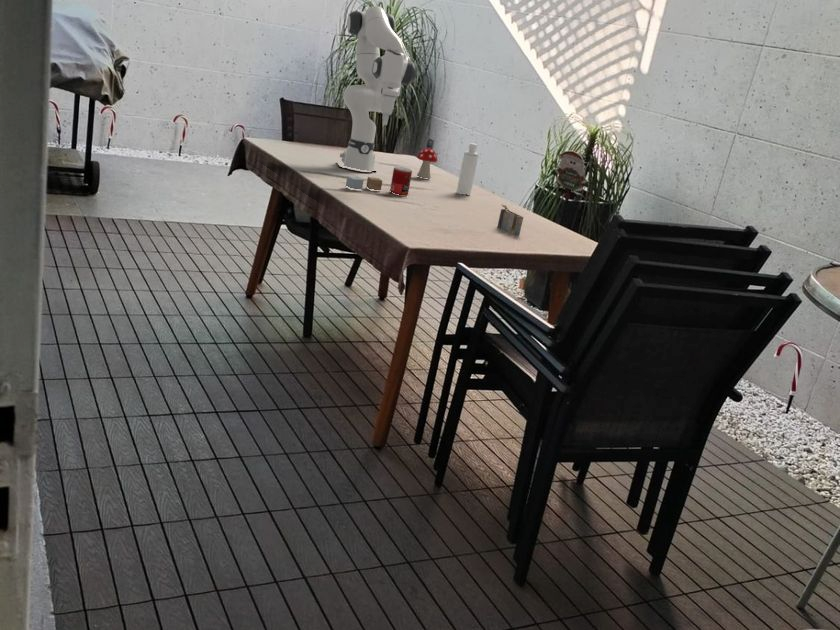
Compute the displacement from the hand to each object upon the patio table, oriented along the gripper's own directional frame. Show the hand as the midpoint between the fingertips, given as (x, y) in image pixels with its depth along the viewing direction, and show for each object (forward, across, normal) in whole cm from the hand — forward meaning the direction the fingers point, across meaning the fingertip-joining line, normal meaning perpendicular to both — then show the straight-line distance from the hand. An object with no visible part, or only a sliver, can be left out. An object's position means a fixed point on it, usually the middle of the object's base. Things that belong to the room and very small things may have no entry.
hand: (384, 124), depth 340 cm
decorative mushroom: (+26, -52, +25) cm, 64 cm away
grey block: (+28, +10, -9) cm, 31 cm away
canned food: (+28, +2, +10) cm, 30 cm away
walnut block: (+28, +3, -1) cm, 28 cm away
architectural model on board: (+30, +41, +52) cm, 73 cm away
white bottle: (+28, -27, +42) cm, 57 cm away
